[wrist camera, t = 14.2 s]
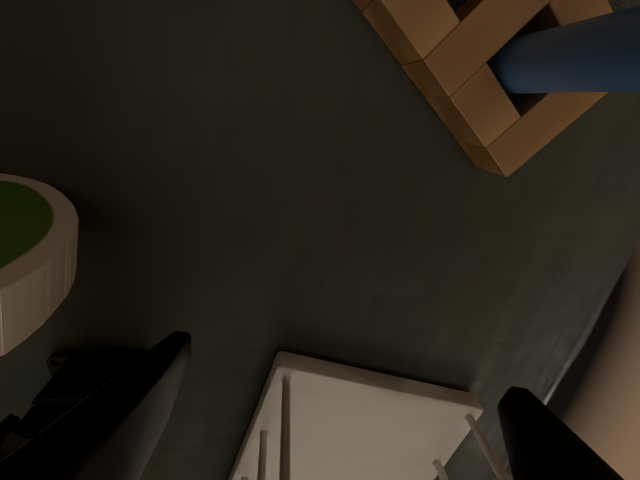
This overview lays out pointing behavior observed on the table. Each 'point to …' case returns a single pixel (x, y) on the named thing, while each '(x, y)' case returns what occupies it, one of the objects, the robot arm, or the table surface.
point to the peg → (574, 57)
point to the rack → (481, 70)
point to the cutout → (33, 255)
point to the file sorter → (354, 425)
